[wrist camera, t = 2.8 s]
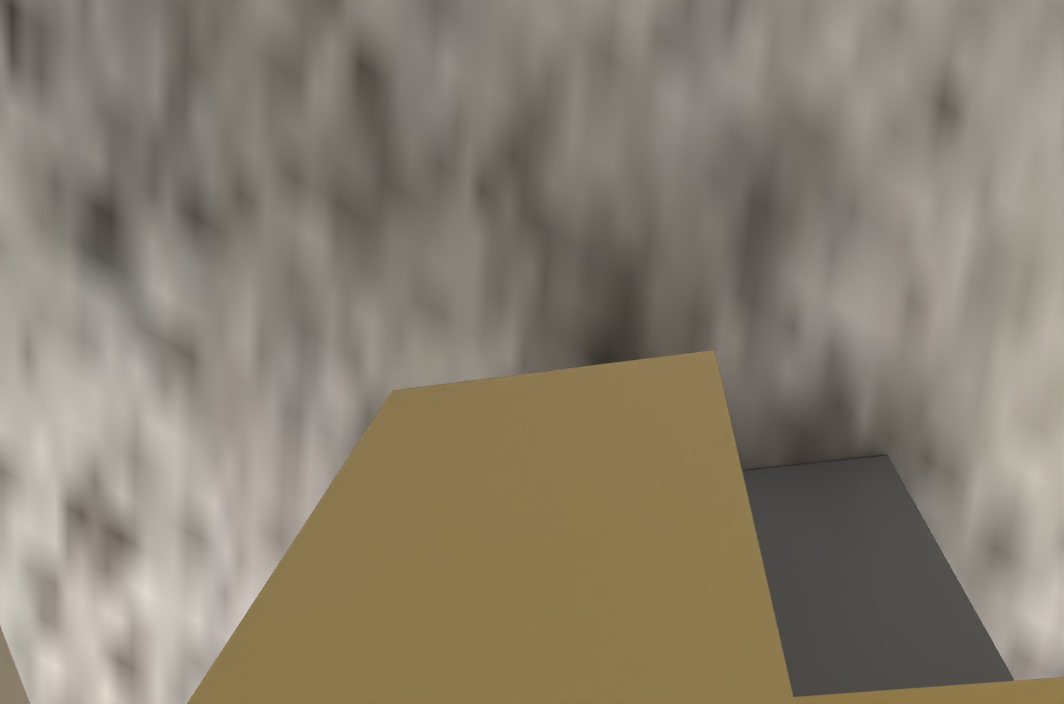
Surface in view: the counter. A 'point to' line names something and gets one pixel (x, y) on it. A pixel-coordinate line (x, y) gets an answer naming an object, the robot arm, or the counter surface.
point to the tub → (862, 583)
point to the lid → (537, 558)
